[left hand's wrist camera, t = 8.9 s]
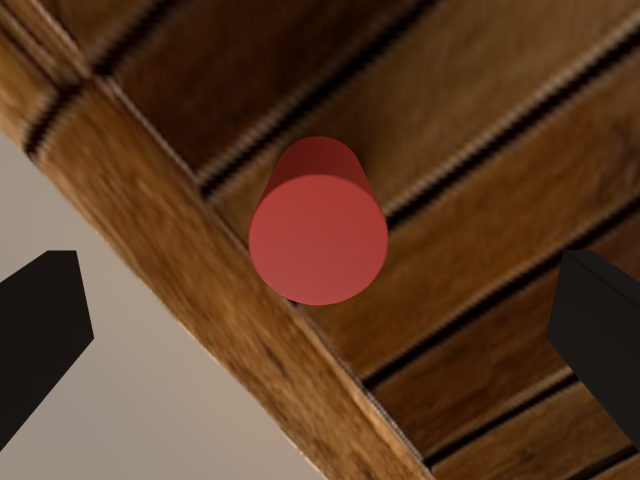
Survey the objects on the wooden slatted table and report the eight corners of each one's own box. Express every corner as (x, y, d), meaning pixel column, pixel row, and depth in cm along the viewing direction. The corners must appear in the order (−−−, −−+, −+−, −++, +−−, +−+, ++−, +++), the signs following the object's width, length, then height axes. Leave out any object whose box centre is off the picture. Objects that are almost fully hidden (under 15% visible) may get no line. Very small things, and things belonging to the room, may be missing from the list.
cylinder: (340, 237, 28) (352, 324, 18) (260, 203, 27) (227, 276, 17) (378, 158, 26) (413, 208, 17) (294, 120, 25) (279, 149, 16)
